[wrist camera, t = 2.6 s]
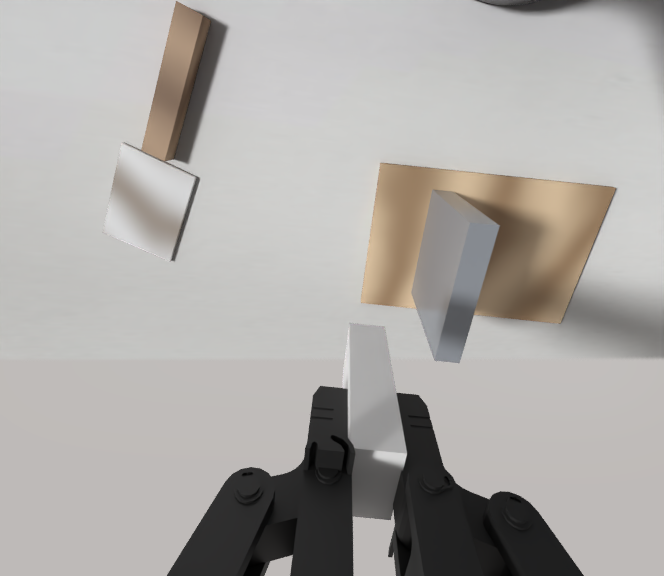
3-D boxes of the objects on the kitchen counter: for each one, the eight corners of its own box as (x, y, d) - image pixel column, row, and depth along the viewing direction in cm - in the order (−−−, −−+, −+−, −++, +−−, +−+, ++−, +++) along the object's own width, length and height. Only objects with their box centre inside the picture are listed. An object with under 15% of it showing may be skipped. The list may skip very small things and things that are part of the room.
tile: (411, 292, 33) (434, 360, 24) (432, 189, 29) (470, 222, 20) (430, 294, 33) (461, 363, 24) (454, 191, 29) (502, 225, 20)
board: (360, 299, 34) (361, 302, 33) (380, 162, 29) (381, 163, 28) (556, 320, 34) (560, 323, 33) (610, 186, 29) (615, 188, 28)
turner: (156, -9, 25) (144, -17, 23) (239, 36, 26) (233, 31, 24) (105, 231, 32) (93, 236, 31) (171, 260, 33) (163, 266, 32)
